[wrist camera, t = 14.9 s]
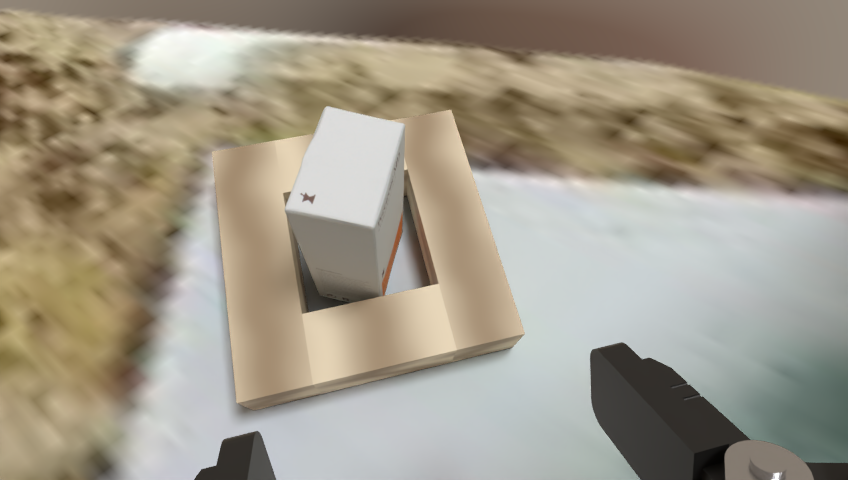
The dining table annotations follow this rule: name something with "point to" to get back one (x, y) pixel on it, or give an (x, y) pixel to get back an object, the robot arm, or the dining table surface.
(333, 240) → the skincare box
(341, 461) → the dining table surface
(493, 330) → the socket block
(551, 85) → the dining table surface
